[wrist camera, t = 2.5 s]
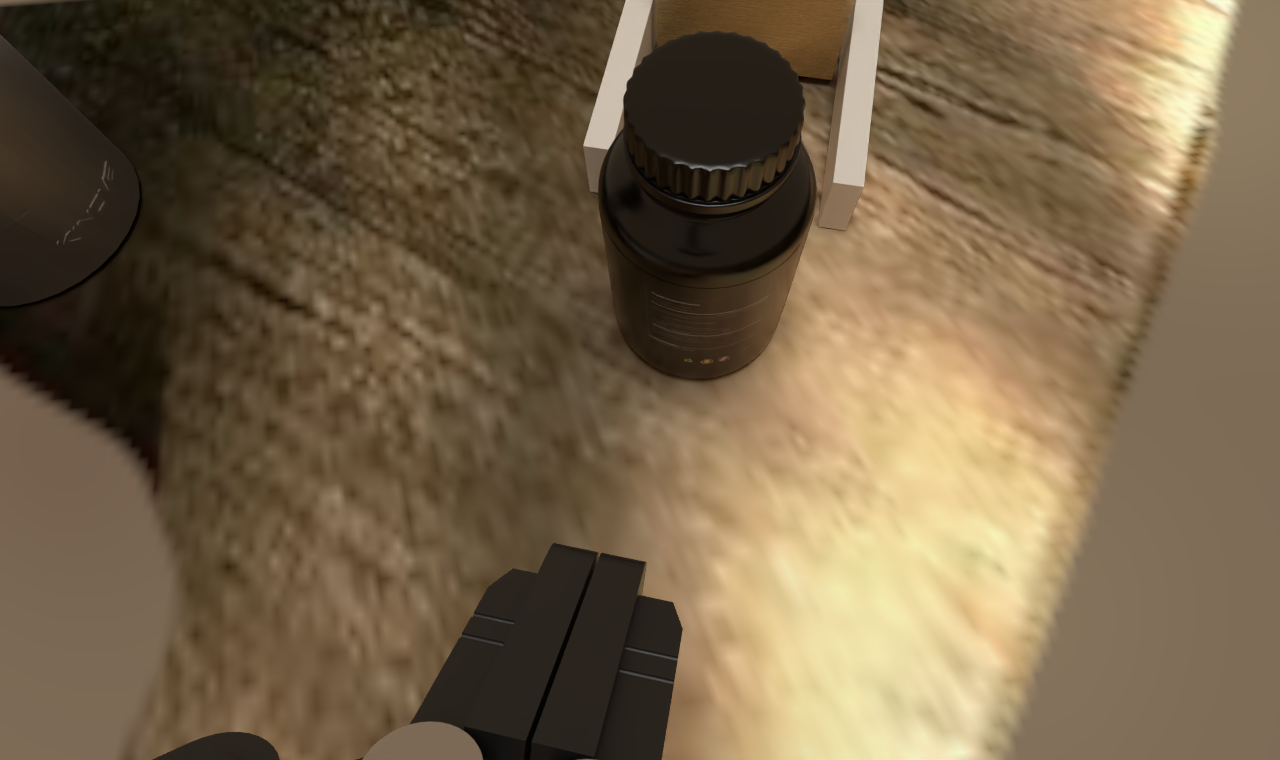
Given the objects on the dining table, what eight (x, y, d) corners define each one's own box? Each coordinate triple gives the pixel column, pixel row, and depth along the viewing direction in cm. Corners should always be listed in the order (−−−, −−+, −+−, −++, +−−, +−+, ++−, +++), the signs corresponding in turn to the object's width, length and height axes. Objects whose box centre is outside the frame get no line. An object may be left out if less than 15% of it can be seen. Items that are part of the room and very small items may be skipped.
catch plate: (656, 56, 34) (656, -62, 29) (660, 41, 35) (660, -78, 29) (831, 80, 34) (865, -38, 28) (833, 64, 34) (867, -55, 28)
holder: (590, 191, 32) (573, 80, 26) (647, -15, 37) (645, -149, 31) (845, 230, 31) (890, 123, 25) (870, 12, 36) (912, -122, 30)
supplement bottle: (609, 245, 31) (580, 6, 20) (766, 234, 31) (825, -12, 20) (618, 392, 28) (590, 211, 17) (789, 379, 28) (872, 190, 17)
